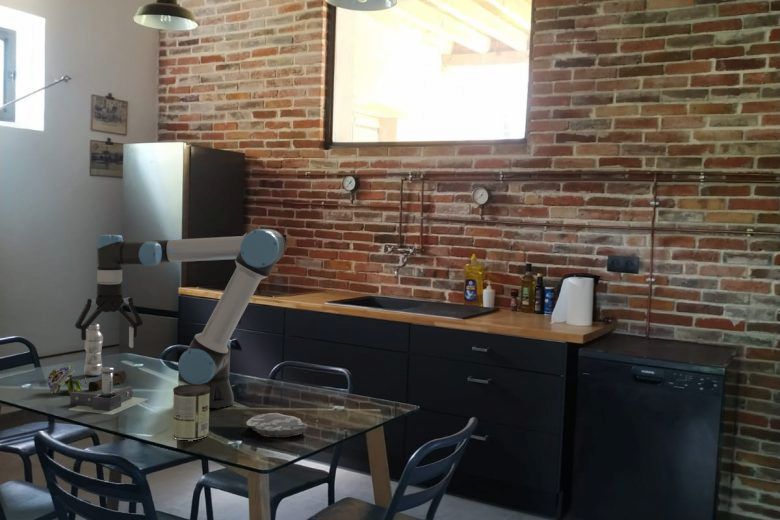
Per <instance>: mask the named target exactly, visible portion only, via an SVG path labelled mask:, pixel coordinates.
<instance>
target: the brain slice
mask: <svg viewBox="0 0 780 520" xmlns="http://www.w3.org/2000/svg"><path fill="white" fill-rule="evenodd" d="M246 426H247V427H249V428H251V429H252V431H257V433H259V434H268V435H290V434H298V433H302V432H305V433H306V432H307V430H308V427H309V425H308V424H306V423H305V422H303V421H302V420H301V418H299V417H296V416H292V415H285V414H282V413H279V412H269V413H268V412H267V413H262V414H256V415H253V416H252V417H250V419H247V421H246ZM257 433H256V434H257ZM259 434H258V435H259Z"/></svg>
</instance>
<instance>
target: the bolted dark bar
mask: <svg viewBox="0 0 780 520" xmlns="http://www.w3.org/2000/svg"><path fill="white" fill-rule="evenodd" d="M112 394H121V402H123V401H126V400H128V399H131V398H132V397H133V386H131V385H129V386H126V387H123V388H120V389H118V390H114V391H112Z"/></svg>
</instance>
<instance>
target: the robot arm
mask: <svg viewBox="0 0 780 520" xmlns="http://www.w3.org/2000/svg"><path fill="white" fill-rule="evenodd" d="M96 245H97V246H96V251H97V252H96V253H97V257H96V258H97V259H96V260H97V261H96V263H97V264H96V265H97V273H96V278H97V279H96V282H97V285H96V299H95V298H88V297H87V298H86V300H85V305H84V308H83V309H82V311H81V313H80V314H79V316H78V319H77V321H76V322H75V325H74V327H75V328H76V329H78V330H80V339H81V340H82V341H84V350H85V352H86V351H89V330H90V329H89V325H90V324H93V323H94V321H95V320H96V319H97V317H98V316H99V315H100V314H101V313H102V312H103V313H110V312H111V313H116V312H119V313H120V314H121V316H123V318H124V319H125V320H126V321H127V322H128V323H129V324H130V326H129V327H128V334H129V335H128V337H129V338H128V347H129V348H131V349H133V348H134V338H136V337H137V334H138V332H137V330H138V327H139V326H143V325H144V324H143V320H142V318H141V317H140V314H139V313H138V311H137V309H136V308H135V306H134V302H133V299H134V298H132V297H130V296H128V297H125V298H124V297H123V284H122V282H123V266H128V265H129V266H146V267H148V266H149V267H151V266H152V267H153V266H158V265H159V264H163V263H177V262H179V263H181V262H197V261H199V262H200V261H201V262H202V261H220V260H221V261H222V260H223V261H224V260H234V262H235V265H236V268H235V270H234V272H233V274H232V276H231V277H230V280H229V281H228V283H227V285H226V286H225V289H224V290H223V292H222V293H221V294H222V295H221V296H220V298H219V299H218V302H217V304H216V306H215V308H214V309H213V312H212V313H211V315H210V317H209V319H208V320H207V322H206V325H205V326H204V328H203V330H202V331H201V332H200V333H196V334H195V335H194V337H193V339H192V340H191V342H190V344H189V346H188V348H187V349H186V350H185V351H184V352H183V353H182V354H181V356H180V357H179V359H178V365H177V366H178V368H177V369H178V372H179V374H180V376H181V378H182V379H184V381H186V382H187V383H188V384H199V385H206V386H208V387H210V394H209V408H216V409H221V408H220V407H224V408H227V407H226V406H228V407H230V405H231V406H232V405H234V403H235V401H234V400H235V395H234V392H233V389H232V386H231V383H230V364H231V363H230V362H231V337H232V335H233V333H234V332H235V330H236V328H237V326H238V323H239V322H240V319H241V317H242V316H243V314H244V312H245V310H246V308H247V307H248V305H249V304H250V301H251V299H252V298H253V296H254V294H255V292H256V290H257V288H258V286H259V284H260V282H261V280H264V279H266V278H268V277H269V276H270V273H271V272H272V271H273V269H274V266H275V264H276V263H278V262H279V261H280V260H281V259H282V258H283V256H284V255H285V253H286V247H287V245H286V240H285V237H284V236H283V235H282V234H281V233H280V232H279V231H278V230H275V229H271V228H257V229H253V230H251V231H249V232H246V233H245V234H243V235H241V236H237V235H236V236H220V237H219V236H218V237H203V238H202V237H200V238H184V239H183V238H181V239H165V240H164V239H163V240H162V239H161V240H160V239H159V240H151V241H150V240H148V241H125V240H124V239H123V236H122V235H120V234H101V235H98V237H97V244H96ZM94 304H96V305H97V307H96V308H95V310H94V312H92V314H90V316H89V317H88V318H87V319H86V317H87V315H88V313H89V312H90V310H91V308H92V306H94ZM123 304H126V305H127V306H128V308H129V311H130V312H131V314H132V315H133V317H134V320H133V319H132V317H130V315H129V314H128V313H127V312H126V311H125V310H124V309H123V308H122V305H123ZM85 319H86V320H85ZM84 321H85V322H84Z"/></svg>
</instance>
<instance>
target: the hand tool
mask: <svg viewBox="0 0 780 520" xmlns="http://www.w3.org/2000/svg"><path fill="white" fill-rule="evenodd" d="M125 382H127V372H126V371H125V370H120V371H116V372H113V384H112V386H115V385H116V384H119V385H122V384H124V383H125ZM121 383H122V384H121ZM88 390H89V391H95V392H98V391H101V390H102V378H101V379H98V380H95V381H90V382H89V383H88Z"/></svg>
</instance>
